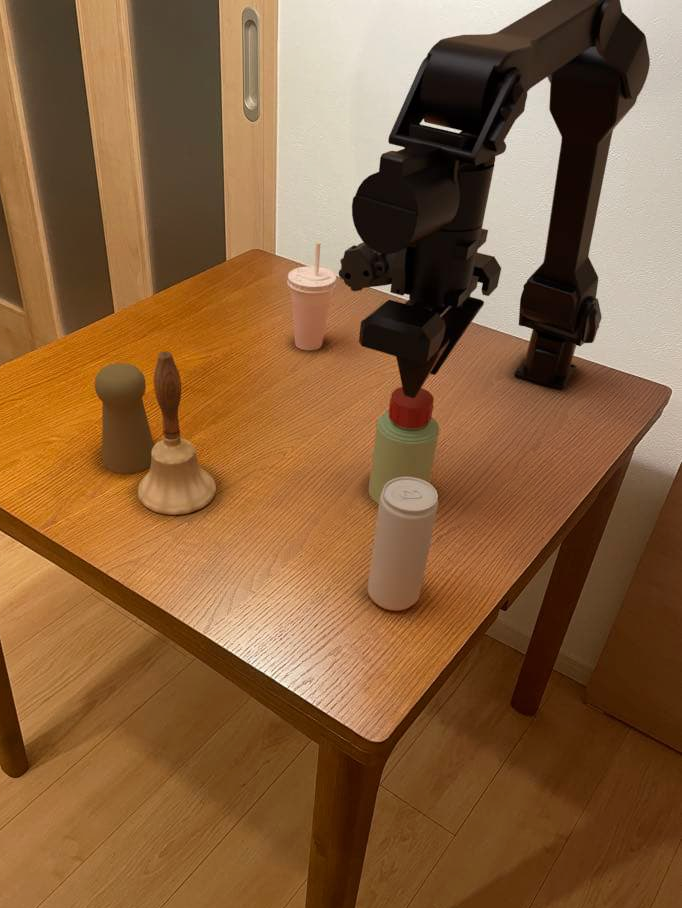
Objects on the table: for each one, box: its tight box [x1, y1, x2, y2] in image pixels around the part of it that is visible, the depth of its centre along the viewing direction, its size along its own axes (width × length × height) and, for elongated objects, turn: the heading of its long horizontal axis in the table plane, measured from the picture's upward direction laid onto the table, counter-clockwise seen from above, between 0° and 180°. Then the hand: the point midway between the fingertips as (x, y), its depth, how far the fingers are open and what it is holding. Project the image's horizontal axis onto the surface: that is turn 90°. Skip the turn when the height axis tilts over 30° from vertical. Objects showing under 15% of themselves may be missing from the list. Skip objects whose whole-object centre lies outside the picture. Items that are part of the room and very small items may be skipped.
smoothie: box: [286, 241, 337, 351], centre depth 105 cm, size 6×6×14 cm
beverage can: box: [367, 477, 439, 612], centre depth 70 cm, size 5×5×12 cm
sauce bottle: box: [368, 410, 440, 505], centre depth 82 cm, size 6×6×11 cm
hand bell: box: [137, 350, 217, 516], centre depth 79 cm, size 8×8×16 cm
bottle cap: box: [388, 386, 435, 428], centre depth 78 cm, size 4×4×2 cm
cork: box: [94, 362, 155, 475], centre depth 85 cm, size 6×6×11 cm
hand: (420, 384), depth 77 cm, fingers open, 5 cm apart
